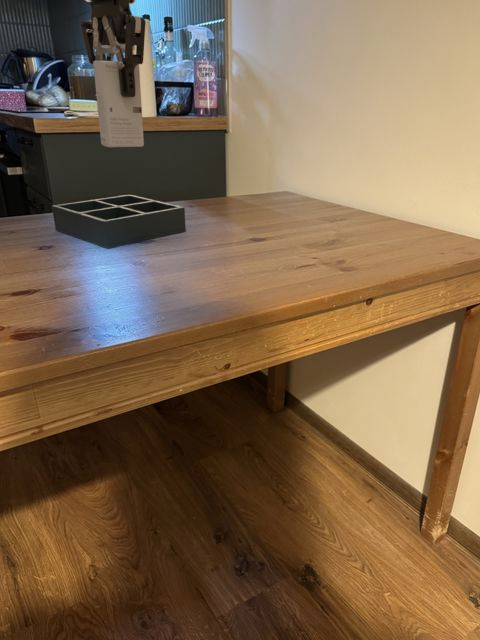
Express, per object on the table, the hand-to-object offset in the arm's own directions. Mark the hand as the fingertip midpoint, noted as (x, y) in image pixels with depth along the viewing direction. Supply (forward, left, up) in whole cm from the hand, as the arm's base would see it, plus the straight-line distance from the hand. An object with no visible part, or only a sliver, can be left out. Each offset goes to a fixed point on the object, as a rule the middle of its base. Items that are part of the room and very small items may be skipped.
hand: (118, 95), depth 79 cm
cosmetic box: (0, 0, -8) cm, 8 cm away
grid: (-8, +3, -23) cm, 25 cm away
